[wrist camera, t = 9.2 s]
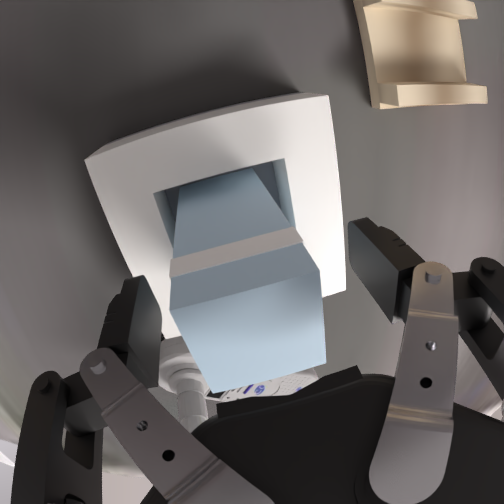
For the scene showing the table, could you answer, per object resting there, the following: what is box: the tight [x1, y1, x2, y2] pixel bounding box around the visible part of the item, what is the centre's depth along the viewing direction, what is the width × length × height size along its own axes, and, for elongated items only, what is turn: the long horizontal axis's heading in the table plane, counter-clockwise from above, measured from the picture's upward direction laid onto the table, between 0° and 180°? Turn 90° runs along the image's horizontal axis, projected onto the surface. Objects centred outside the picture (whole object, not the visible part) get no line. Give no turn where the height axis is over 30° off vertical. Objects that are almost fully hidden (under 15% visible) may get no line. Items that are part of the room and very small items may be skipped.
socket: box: [84, 92, 346, 339], centre depth 17 cm, size 11×11×4 cm
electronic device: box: [158, 336, 319, 433], centre depth 22 cm, size 5×10×15 cm
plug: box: [169, 168, 326, 393], centre depth 13 cm, size 4×4×10 cm
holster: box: [353, 0, 487, 109], centre depth 13 cm, size 8×8×3 cm
